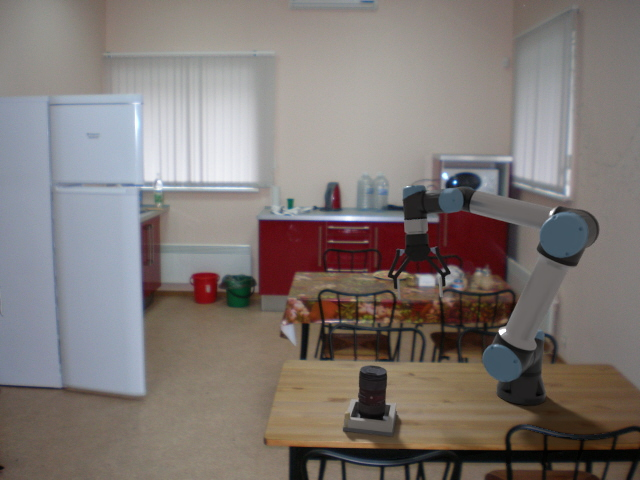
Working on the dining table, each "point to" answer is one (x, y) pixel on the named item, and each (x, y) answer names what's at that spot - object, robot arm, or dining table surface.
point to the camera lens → (372, 392)
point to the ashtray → (370, 420)
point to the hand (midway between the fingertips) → (420, 298)
